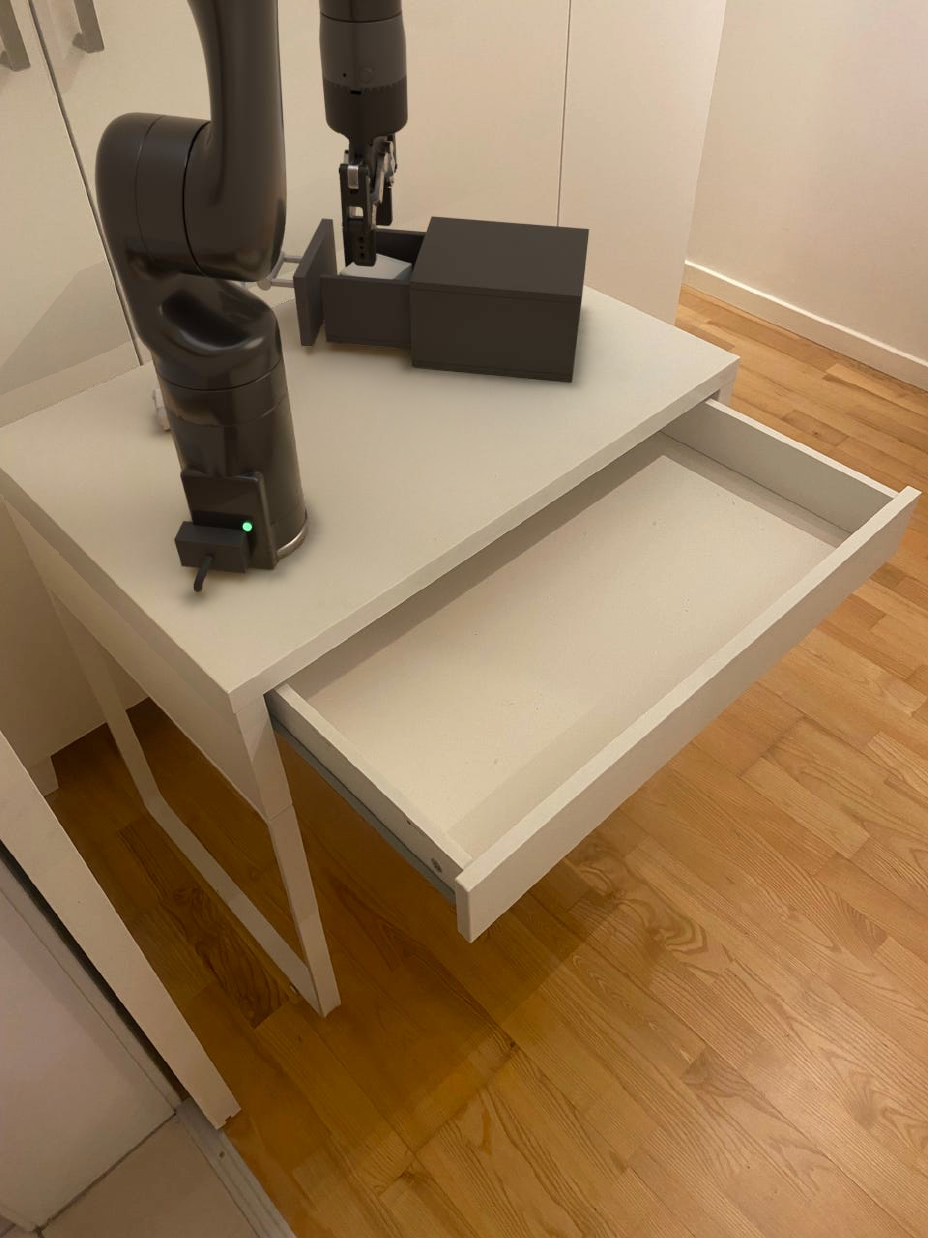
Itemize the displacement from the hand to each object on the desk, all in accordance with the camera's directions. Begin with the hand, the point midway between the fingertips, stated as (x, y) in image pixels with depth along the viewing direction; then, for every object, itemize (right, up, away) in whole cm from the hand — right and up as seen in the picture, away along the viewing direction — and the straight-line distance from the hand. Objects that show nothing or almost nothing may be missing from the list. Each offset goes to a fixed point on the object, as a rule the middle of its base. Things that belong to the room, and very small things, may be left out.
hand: (373, 243), depth 97 cm
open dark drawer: (-2, -6, +7) cm, 9 cm away
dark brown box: (+13, -8, +6) cm, 16 cm away
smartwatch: (-19, -19, -5) cm, 28 cm away
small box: (0, -5, +6) cm, 8 cm away
